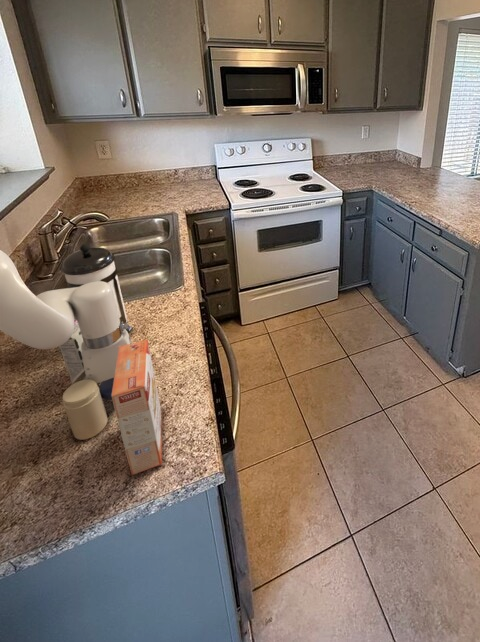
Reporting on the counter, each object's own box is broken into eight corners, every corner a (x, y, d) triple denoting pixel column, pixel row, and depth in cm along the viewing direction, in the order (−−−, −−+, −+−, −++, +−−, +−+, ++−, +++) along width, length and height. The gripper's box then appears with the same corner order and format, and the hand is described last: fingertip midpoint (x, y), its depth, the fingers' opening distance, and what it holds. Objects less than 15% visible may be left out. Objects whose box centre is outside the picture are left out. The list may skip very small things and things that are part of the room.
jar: (74, 445, 76) (61, 408, 72) (72, 423, 81) (60, 387, 77) (109, 428, 80) (99, 392, 76) (105, 408, 84) (95, 373, 81)
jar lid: (139, 387, 86) (137, 382, 85) (105, 406, 81) (103, 400, 81) (129, 371, 91) (127, 365, 90) (96, 387, 86) (95, 382, 85)
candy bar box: (98, 358, 99) (84, 309, 94) (116, 358, 99) (103, 308, 94) (72, 391, 89) (54, 338, 83) (92, 391, 89) (75, 338, 83)
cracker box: (164, 464, 72) (146, 385, 65) (130, 477, 70) (108, 396, 62) (163, 409, 84) (148, 337, 77) (135, 418, 82) (116, 345, 75)
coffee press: (63, 351, 102) (33, 258, 91) (99, 316, 117) (77, 232, 106) (121, 354, 101) (97, 260, 90) (150, 318, 116) (133, 234, 105)
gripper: (143, 312, 88) (155, 368, 94) (57, 338, 79) (77, 398, 85) (147, 329, 82) (160, 388, 88) (54, 360, 73) (76, 422, 79)
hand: (119, 393), depth 87 cm, fingers closed on jar lid, 7 cm apart
